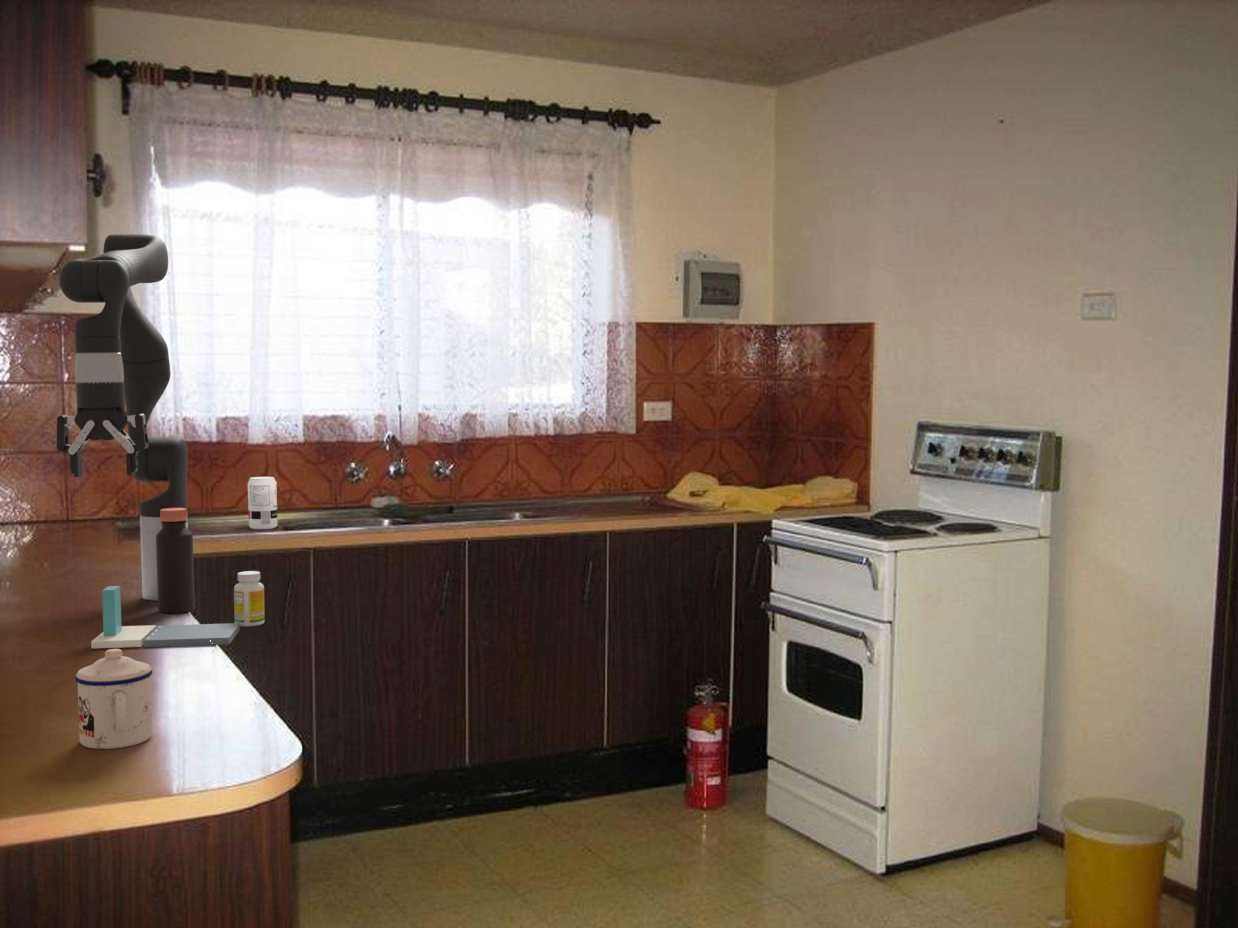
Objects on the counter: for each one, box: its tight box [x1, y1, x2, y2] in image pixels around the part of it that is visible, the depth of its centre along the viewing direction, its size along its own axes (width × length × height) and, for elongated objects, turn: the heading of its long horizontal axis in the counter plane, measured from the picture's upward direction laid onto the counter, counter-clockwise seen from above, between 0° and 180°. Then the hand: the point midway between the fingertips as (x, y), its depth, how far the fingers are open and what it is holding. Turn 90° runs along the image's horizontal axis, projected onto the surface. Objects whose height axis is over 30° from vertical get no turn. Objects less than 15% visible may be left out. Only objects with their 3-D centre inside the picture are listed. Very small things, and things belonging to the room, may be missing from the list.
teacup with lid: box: [74, 648, 153, 750], centre depth 155 cm, size 12×9×12 cm
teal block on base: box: [90, 585, 158, 649], centre depth 213 cm, size 12×8×9 cm, turn 9°
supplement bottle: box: [233, 570, 265, 627], centre depth 226 cm, size 5×5×10 cm
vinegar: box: [156, 508, 196, 615], centre depth 238 cm, size 7×7×20 cm
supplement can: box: [247, 476, 279, 531], centre depth 362 cm, size 8×8×15 cm
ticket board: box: [143, 622, 241, 648], centre depth 215 cm, size 12×14×1 cm
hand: (104, 476), depth 207 cm, fingers open, 8 cm apart
